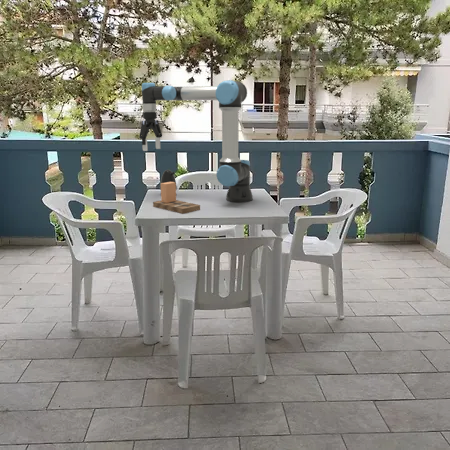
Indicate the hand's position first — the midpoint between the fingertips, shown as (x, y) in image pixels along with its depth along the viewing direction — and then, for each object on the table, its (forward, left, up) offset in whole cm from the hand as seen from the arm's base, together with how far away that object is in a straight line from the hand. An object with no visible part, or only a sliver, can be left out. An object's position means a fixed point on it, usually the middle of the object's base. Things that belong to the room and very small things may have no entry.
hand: (151, 149), depth 255 cm
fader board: (-26, +19, -28) cm, 43 cm away
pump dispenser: (-4, -11, -28) cm, 30 cm away
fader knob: (-20, +17, -25) cm, 37 cm away
